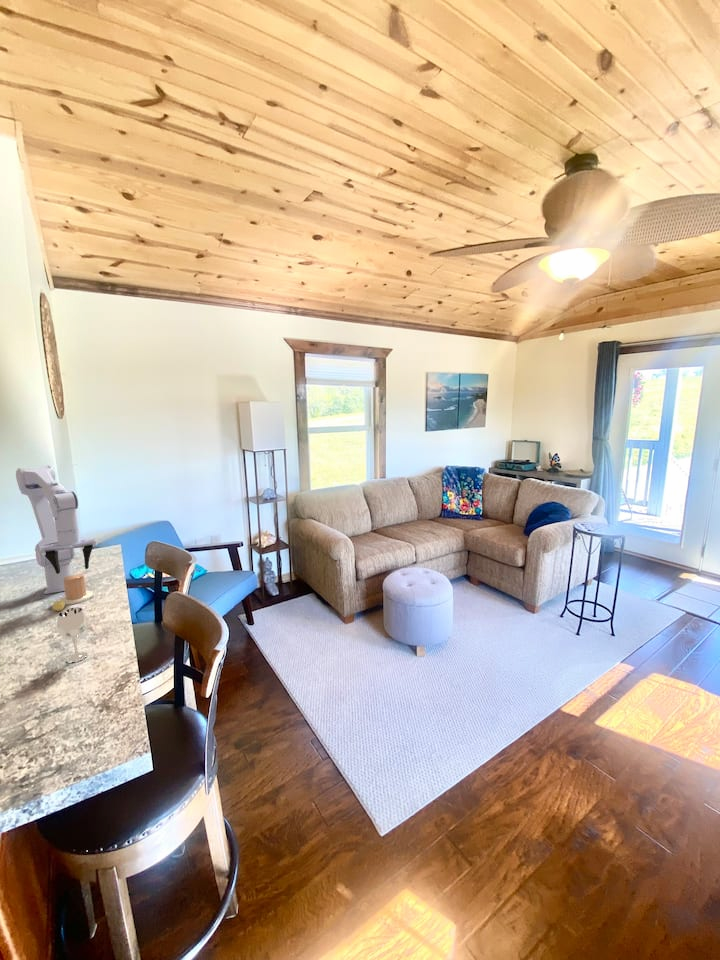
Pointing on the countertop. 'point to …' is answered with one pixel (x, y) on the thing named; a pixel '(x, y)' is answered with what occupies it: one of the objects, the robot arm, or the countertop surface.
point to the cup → (74, 587)
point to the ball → (58, 605)
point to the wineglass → (72, 628)
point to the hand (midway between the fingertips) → (72, 570)
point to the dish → (69, 602)
